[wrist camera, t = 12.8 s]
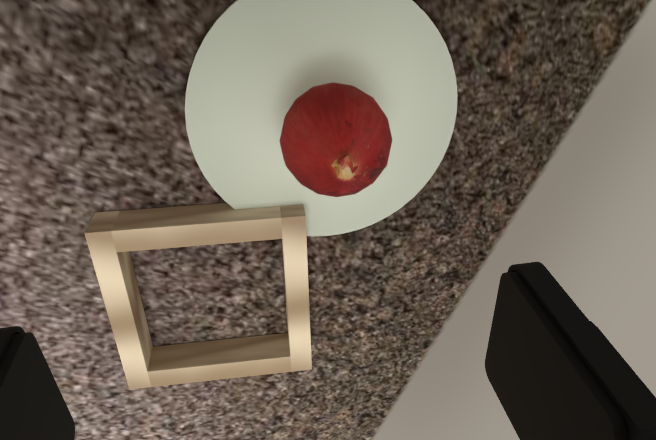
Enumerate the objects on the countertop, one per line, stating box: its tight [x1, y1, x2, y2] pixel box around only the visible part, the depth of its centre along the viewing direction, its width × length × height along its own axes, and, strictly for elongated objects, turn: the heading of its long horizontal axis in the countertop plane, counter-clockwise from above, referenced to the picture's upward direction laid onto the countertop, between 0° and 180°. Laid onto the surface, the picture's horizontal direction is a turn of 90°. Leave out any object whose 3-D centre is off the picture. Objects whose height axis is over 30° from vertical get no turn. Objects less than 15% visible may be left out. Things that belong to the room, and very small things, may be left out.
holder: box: [85, 203, 312, 389], centre depth 36 cm, size 13×13×2 cm
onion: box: [280, 82, 392, 197], centre depth 27 cm, size 6×6×8 cm
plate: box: [185, 0, 457, 236], centre depth 31 cm, size 16×16×1 cm
